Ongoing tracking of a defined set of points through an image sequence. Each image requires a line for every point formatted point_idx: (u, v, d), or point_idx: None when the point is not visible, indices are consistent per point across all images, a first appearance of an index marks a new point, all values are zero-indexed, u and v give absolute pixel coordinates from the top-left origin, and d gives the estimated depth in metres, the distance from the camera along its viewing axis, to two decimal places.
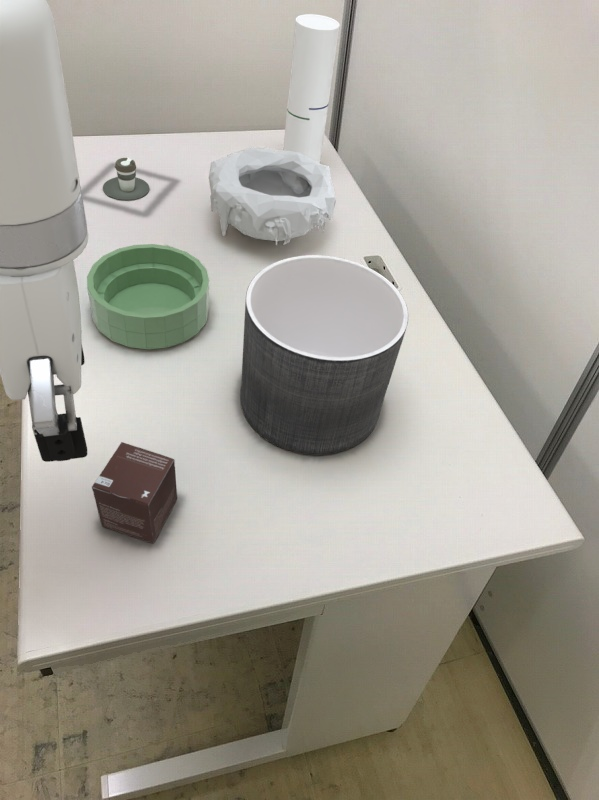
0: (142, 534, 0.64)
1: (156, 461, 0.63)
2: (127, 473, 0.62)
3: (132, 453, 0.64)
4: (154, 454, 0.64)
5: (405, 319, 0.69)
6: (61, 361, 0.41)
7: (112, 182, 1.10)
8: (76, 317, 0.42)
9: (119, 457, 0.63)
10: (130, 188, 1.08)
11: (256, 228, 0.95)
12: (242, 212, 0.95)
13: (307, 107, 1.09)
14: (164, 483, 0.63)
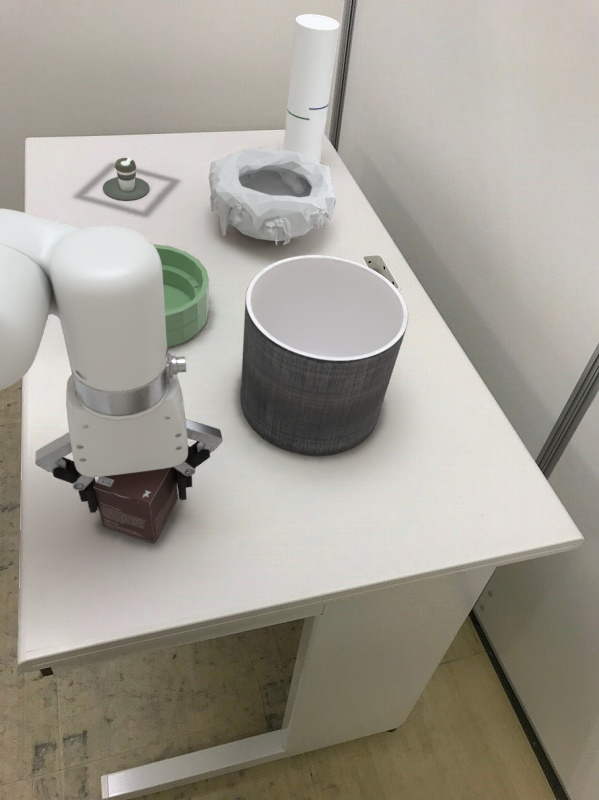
0: (143, 534, 0.64)
1: None
2: (128, 473, 0.62)
3: None
4: None
5: (405, 319, 0.69)
6: (71, 448, 0.56)
7: (112, 182, 1.10)
8: (101, 445, 0.54)
9: None
10: (130, 188, 1.08)
11: (256, 228, 0.95)
12: (242, 212, 0.95)
13: (307, 107, 1.09)
14: (165, 483, 0.63)
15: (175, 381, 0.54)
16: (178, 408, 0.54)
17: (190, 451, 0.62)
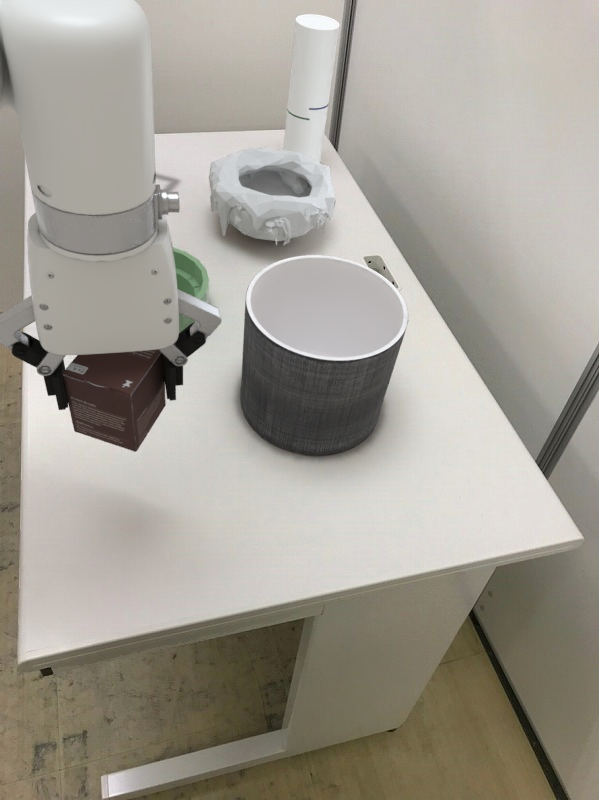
0: (123, 439, 0.53)
1: None
2: (105, 361, 0.51)
3: None
4: None
5: (405, 319, 0.69)
6: (34, 312, 0.45)
7: None
8: (71, 306, 0.44)
9: None
10: None
11: (256, 228, 0.95)
12: (242, 212, 0.95)
13: (307, 107, 1.09)
14: (150, 375, 0.52)
15: (165, 227, 0.43)
16: (168, 261, 0.43)
17: (181, 336, 0.51)
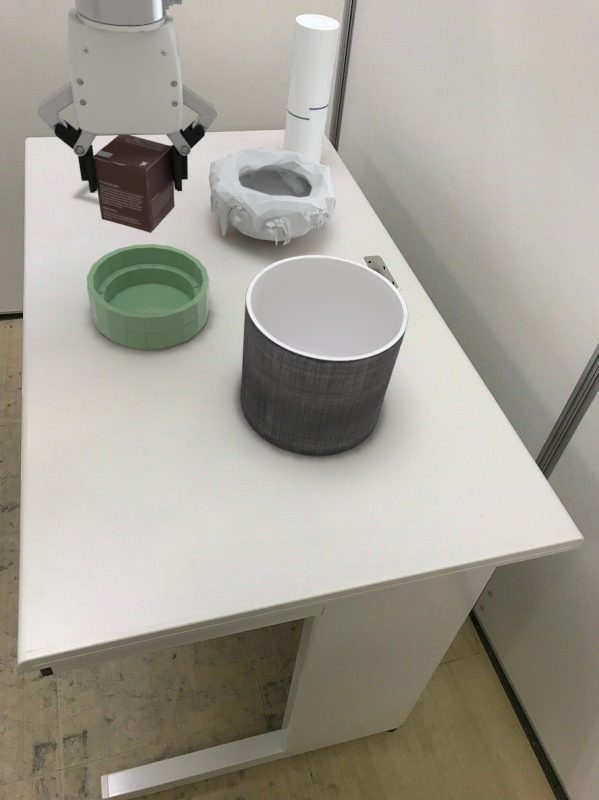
0: (140, 220, 0.67)
1: (154, 146, 0.66)
2: (126, 151, 0.65)
3: (131, 140, 0.66)
4: (152, 142, 0.67)
5: (405, 319, 0.69)
6: (72, 90, 0.58)
7: None
8: (100, 81, 0.57)
9: (119, 141, 0.66)
10: None
11: (256, 228, 0.95)
12: (242, 212, 0.95)
13: (307, 107, 1.09)
14: (162, 163, 0.65)
15: (171, 19, 0.57)
16: (174, 45, 0.57)
17: (185, 131, 0.65)
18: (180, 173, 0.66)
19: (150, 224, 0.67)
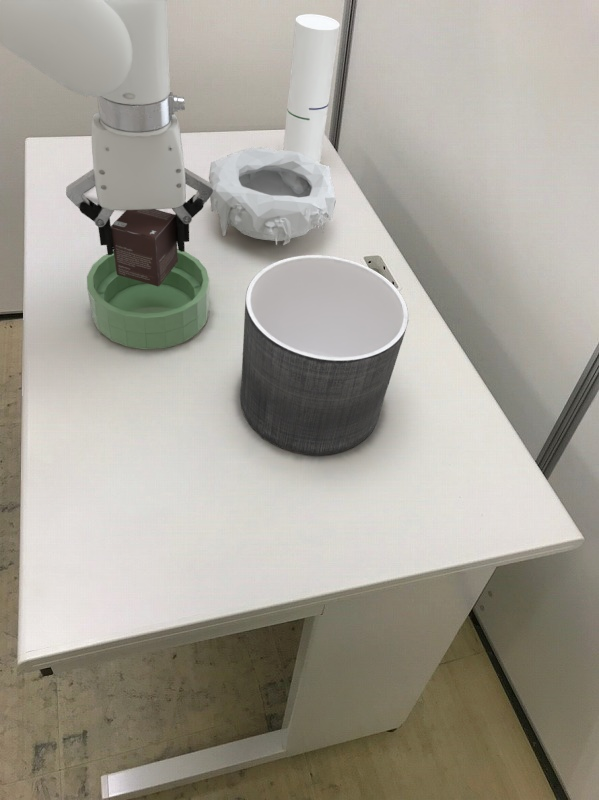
0: (150, 276, 0.80)
1: (161, 215, 0.79)
2: (138, 220, 0.78)
3: (142, 210, 0.79)
4: (159, 211, 0.80)
5: (405, 319, 0.69)
6: (95, 178, 0.71)
7: None
8: (118, 171, 0.70)
9: (131, 211, 0.79)
10: None
11: (256, 228, 0.95)
12: (242, 212, 0.95)
13: (307, 107, 1.09)
14: (167, 230, 0.78)
15: (176, 121, 0.70)
16: (178, 142, 0.70)
17: (187, 204, 0.78)
18: (183, 237, 0.79)
19: (158, 279, 0.80)
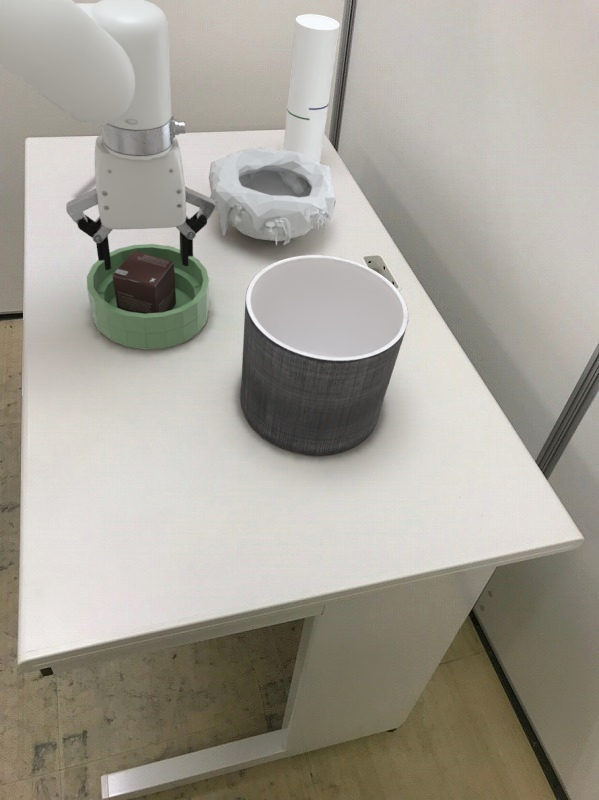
0: None
1: (160, 262, 0.84)
2: (138, 268, 0.83)
3: (142, 257, 0.84)
4: (158, 258, 0.84)
5: (405, 319, 0.69)
6: (97, 198, 0.73)
7: None
8: (121, 193, 0.72)
9: (132, 258, 0.84)
10: None
11: (256, 228, 0.95)
12: (242, 212, 0.95)
13: (307, 107, 1.09)
14: (166, 277, 0.83)
15: (177, 144, 0.72)
16: (179, 164, 0.72)
17: (191, 220, 0.80)
18: (187, 253, 0.81)
19: None
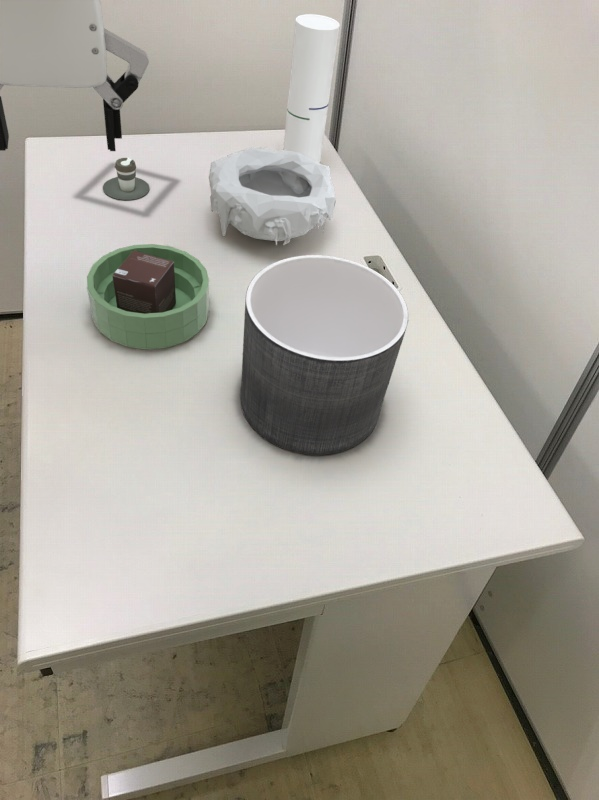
0: None
1: (160, 262, 0.84)
2: (138, 268, 0.83)
3: (142, 257, 0.84)
4: (158, 258, 0.84)
5: (405, 319, 0.69)
6: None
7: (112, 182, 1.10)
8: (7, 21, 0.51)
9: (132, 258, 0.84)
10: (130, 188, 1.08)
11: (256, 228, 0.95)
12: (242, 212, 0.95)
13: (307, 107, 1.09)
14: (166, 277, 0.83)
15: None
16: None
17: (117, 83, 0.59)
18: (112, 130, 0.60)
19: None
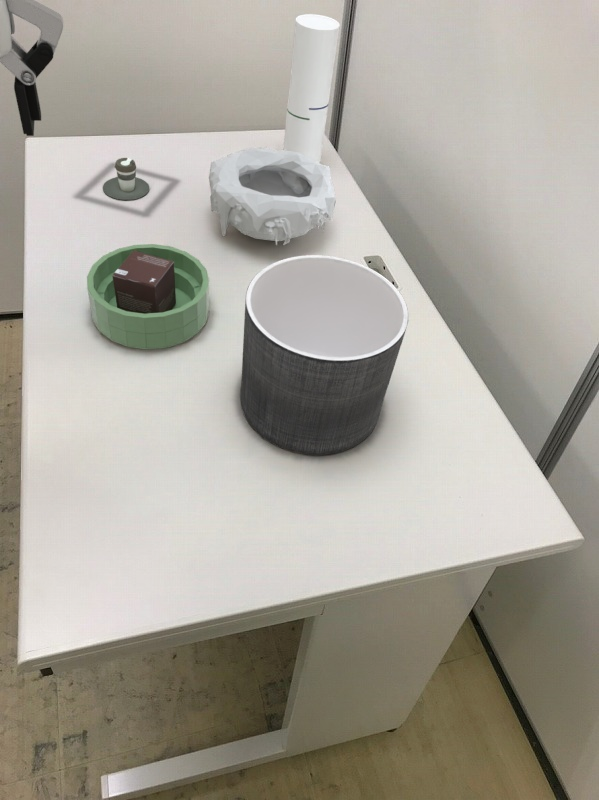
0: None
1: (160, 262, 0.84)
2: (138, 268, 0.83)
3: (142, 257, 0.84)
4: (158, 258, 0.84)
5: (405, 319, 0.69)
6: None
7: (112, 182, 1.10)
8: None
9: (132, 258, 0.84)
10: (130, 188, 1.08)
11: (256, 228, 0.95)
12: (242, 212, 0.95)
13: (307, 107, 1.09)
14: (166, 277, 0.83)
15: None
16: None
17: (29, 53, 0.49)
18: (26, 110, 0.50)
19: None
